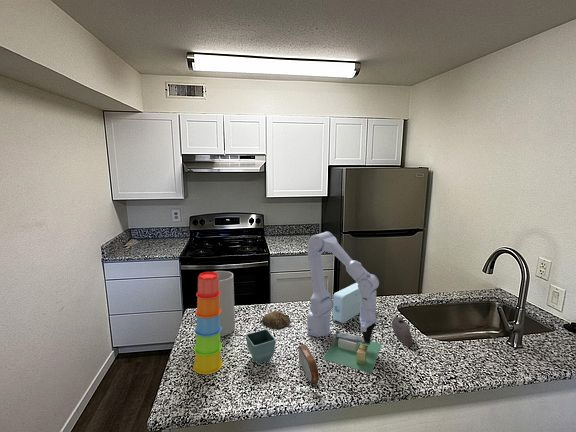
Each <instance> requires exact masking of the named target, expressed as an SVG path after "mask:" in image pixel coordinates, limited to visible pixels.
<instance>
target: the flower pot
mask: <svg viewBox="0 0 576 432" xmlns="http://www.w3.org/2000/svg"><path fill="white" fill-rule="evenodd" d="M245 338H246V344H247V348H248V352H249V353H250V355H251V356H252V358H253V360H254V361H255V362H256V364H257V365H259V364H261V363H265V362H268V361H270V360H271V359H272V358H273V356H274V353H275V350H276V349H275V348H276V341H277V340H276V338H275V336H273V334H272V333H270V331H269V330H268V329H267V328H264V329H261V330H258V331H254V332H250V333H247V334H245Z"/></svg>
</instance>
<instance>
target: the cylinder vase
mask: <svg viewBox="0 0 576 432" xmlns="http://www.w3.org/2000/svg"><path fill="white" fill-rule="evenodd" d="M214 272H215V273H217V274H218V276H219V291H220V295H219V308H220V309H221V313H220V326H221V331H220V337H224V336H225V337H226V336H227V335H230V334H231V333H233V332H235V331H234V330H235V328H236V318H235V317H236V316H235V290H234V289H235V286H234V273H233V272H231V271H227V270H226V271H225V270H216V271H214Z"/></svg>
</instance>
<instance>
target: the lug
mask: <svg viewBox="0 0 576 432" xmlns="http://www.w3.org/2000/svg"><path fill="white" fill-rule="evenodd" d="M367 349H368V346H366V345H362V344H361V345H360V347H359V348H358V350H357V359H356V363H357V364H361V365H364V366H365V364H366V361H367Z"/></svg>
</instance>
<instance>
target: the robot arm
mask: <svg viewBox="0 0 576 432" xmlns="http://www.w3.org/2000/svg"><path fill="white" fill-rule="evenodd" d="M307 243H308V246H307V247H308V248H307V259H308V264H309V265H308V266H309V271H310V272H309V273H310V277H311V285H312V290H313V293H312V295H311V297H310V305H309V310H310V311H309V312H308V315H307V321H306V322H307V323H306V335H308V336H312V337H314V338H315V337H316V338H319V337H325V336H326V337H327V336H329V335H330V333H331V311H332V310H333V306H334V303H333V297H332V295H331V293H330V292H329V291H327V288H326V287H327V286H326V279H325V272H324V267H323V261H322V254H323V252H327V253H332V255H334V256H335V258H337V259H338V260H339V262H341V263H342V264H343V265H344V266H345V271H346V272H347V273H348V275H349V276H350V277H351V278H352V279H353V280H354V282H355V283H358V288H359V290H360V292H361V303H360V313H359V323H358V326H359V328H360V332H361V333H362V337H363V338H364V340H365V341H370V339H371V338H372V334H373V331H374V329H375V327H376V325H377V323H379V319H380V318H376V317H377V316H376V314H377V311H376V310H377V289H378V287H379V286H380V280H379V278H378V277H377V275H375V274H372V273H370V272H369V271H368V270H366V268H365V267H363V265H362V263H361V262H360V261H358V260H353V259H352V257H350V256H349V254H348V253H347V252H346V251H345V250H344V248H343V247H342V246H341V244H339V242H338V240H337V238H336V236H334V234H333V233H331V232H330V231H324V232H321V233H317V234H313V235H311V236H310V237H309V238H308V240H307Z"/></svg>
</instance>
